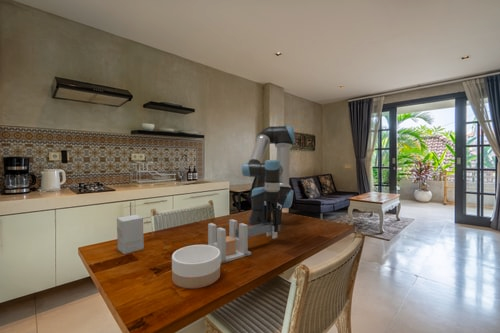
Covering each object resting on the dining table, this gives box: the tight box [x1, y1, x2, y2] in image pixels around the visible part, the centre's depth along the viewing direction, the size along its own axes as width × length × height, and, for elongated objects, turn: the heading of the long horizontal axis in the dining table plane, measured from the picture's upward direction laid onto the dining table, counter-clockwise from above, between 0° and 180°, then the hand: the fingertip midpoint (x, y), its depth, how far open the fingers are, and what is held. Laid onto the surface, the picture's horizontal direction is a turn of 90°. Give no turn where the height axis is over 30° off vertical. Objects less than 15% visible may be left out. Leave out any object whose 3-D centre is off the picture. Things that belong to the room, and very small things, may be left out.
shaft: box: [236, 219, 282, 238], centre depth 115 cm, size 24×5×5 cm, turn 126°
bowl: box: [171, 244, 221, 289], centre depth 86 cm, size 17×17×8 cm
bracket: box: [207, 218, 252, 265], centre depth 104 cm, size 17×12×14 cm
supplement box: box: [116, 214, 145, 255], centre depth 110 cm, size 9×9×15 cm
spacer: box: [226, 235, 236, 256], centre depth 104 cm, size 6×6×5 cm
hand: (271, 236), depth 120 cm, fingers closed on shaft, 4 cm apart
